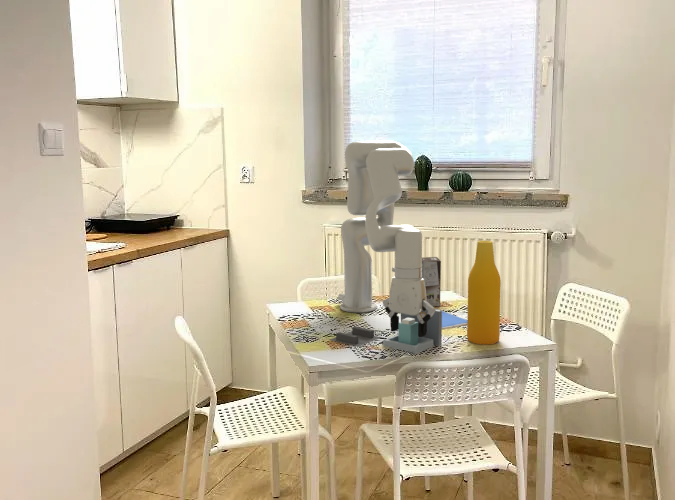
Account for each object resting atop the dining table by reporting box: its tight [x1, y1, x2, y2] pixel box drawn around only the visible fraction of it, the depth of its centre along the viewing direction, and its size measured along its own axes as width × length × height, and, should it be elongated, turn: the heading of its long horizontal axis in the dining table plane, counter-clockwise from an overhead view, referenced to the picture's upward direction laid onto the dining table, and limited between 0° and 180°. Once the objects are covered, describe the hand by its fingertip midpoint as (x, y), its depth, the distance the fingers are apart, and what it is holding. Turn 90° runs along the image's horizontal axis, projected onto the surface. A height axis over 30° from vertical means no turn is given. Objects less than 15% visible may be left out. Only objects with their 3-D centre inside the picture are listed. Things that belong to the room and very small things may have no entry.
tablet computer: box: [435, 308, 468, 330], centre depth 221 cm, size 19×13×1 cm, turn 29°
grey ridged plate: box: [329, 326, 382, 347], centre depth 200 cm, size 11×11×2 cm
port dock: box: [382, 309, 443, 355], centre depth 193 cm, size 13×12×10 cm
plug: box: [398, 318, 419, 345], centre depth 193 cm, size 4×4×8 cm
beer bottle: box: [466, 240, 502, 345], centre depth 196 cm, size 9×9×29 cm
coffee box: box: [422, 256, 442, 307], centre depth 241 cm, size 9×6×16 cm
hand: (408, 333), depth 193 cm, fingers open, 8 cm apart
